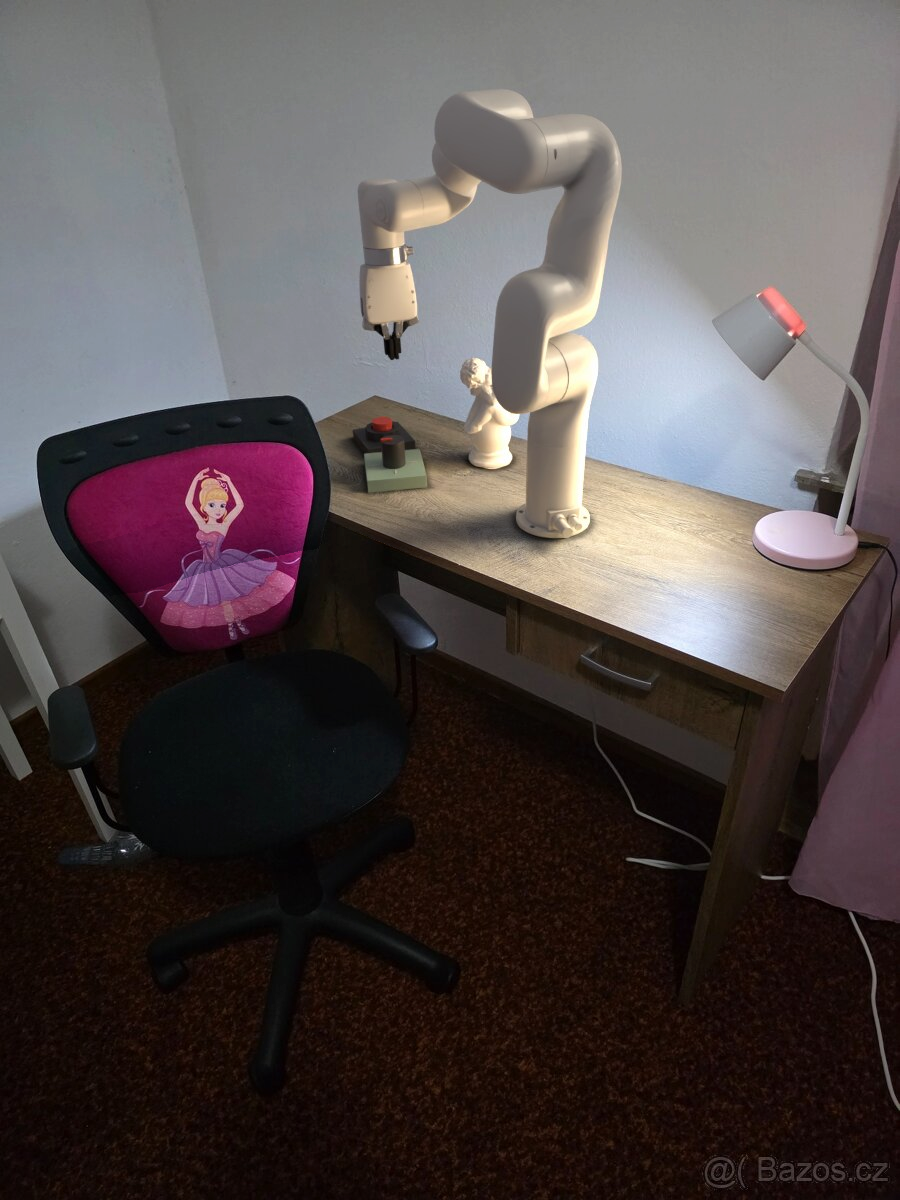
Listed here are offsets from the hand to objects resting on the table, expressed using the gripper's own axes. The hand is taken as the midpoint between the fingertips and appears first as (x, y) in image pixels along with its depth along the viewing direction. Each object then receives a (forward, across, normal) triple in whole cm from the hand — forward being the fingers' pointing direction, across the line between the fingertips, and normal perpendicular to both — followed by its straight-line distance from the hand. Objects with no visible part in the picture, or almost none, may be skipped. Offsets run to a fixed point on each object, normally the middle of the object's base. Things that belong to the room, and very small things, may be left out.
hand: (393, 357), depth 154 cm
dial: (+16, +4, +12) cm, 21 cm away
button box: (+19, +3, -3) cm, 19 cm away
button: (+15, +3, -3) cm, 16 cm away
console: (+19, +4, +12) cm, 23 cm away
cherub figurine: (+19, -17, +10) cm, 28 cm away
